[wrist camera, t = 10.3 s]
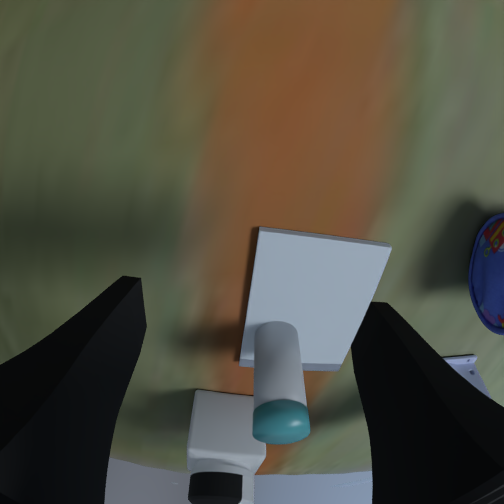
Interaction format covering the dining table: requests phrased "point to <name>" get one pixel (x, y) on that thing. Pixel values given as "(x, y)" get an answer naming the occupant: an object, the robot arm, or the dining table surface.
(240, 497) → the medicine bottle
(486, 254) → the pencil case
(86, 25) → the dining table surface
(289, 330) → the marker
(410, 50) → the dining table surface
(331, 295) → the note pad
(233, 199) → the dining table surface
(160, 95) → the dining table surface
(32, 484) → the robot arm
